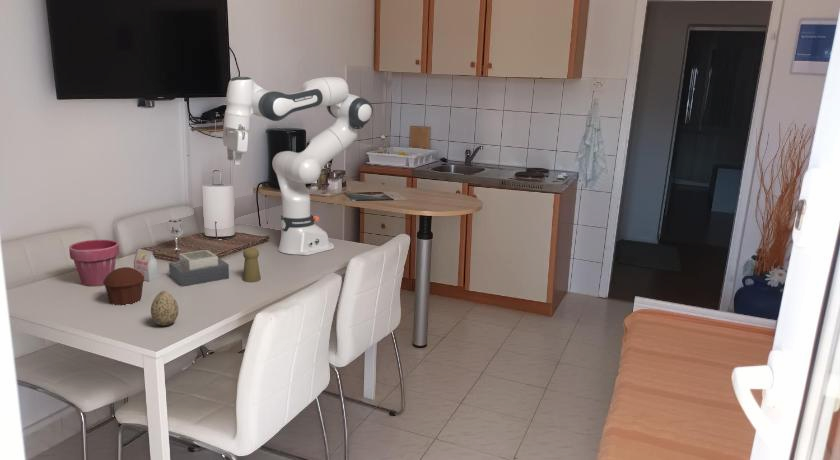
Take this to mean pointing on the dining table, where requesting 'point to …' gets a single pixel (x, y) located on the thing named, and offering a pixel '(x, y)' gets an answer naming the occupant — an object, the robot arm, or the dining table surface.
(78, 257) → the plant pot
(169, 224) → the wineglass
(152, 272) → the white box
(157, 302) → the decorative egg
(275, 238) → the dining table surface
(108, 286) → the muffin
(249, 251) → the cork
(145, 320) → the dining table surface
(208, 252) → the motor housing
